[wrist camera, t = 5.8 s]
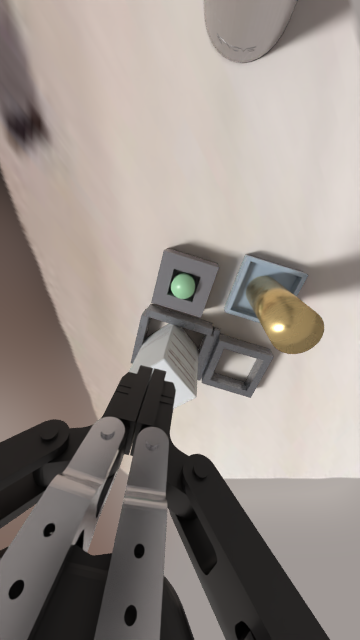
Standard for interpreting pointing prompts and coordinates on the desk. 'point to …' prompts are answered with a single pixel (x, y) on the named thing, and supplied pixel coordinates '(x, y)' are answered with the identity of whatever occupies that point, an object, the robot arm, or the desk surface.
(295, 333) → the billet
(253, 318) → the tote tray
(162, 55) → the desk surface
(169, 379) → the supplement box
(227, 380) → the gray compartment tray
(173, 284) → the button
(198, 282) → the grey square socket block
